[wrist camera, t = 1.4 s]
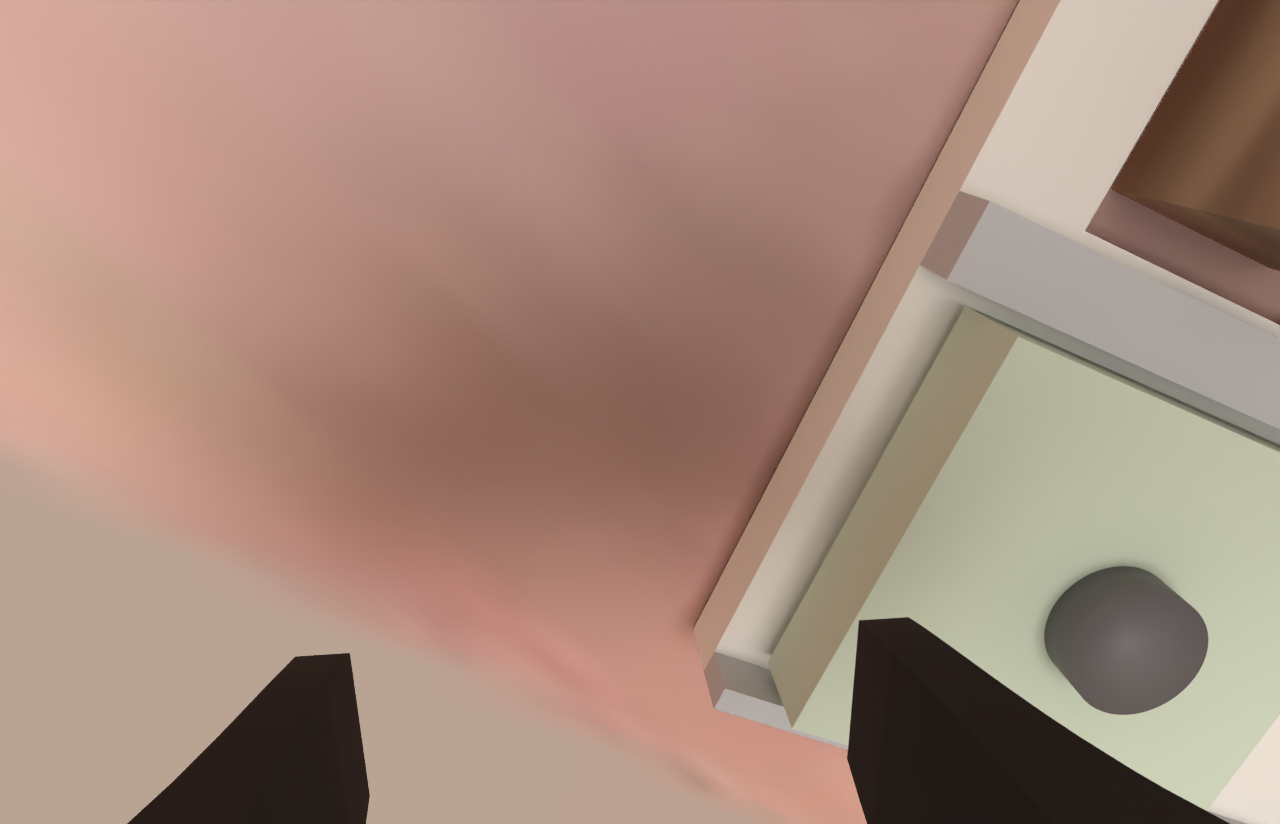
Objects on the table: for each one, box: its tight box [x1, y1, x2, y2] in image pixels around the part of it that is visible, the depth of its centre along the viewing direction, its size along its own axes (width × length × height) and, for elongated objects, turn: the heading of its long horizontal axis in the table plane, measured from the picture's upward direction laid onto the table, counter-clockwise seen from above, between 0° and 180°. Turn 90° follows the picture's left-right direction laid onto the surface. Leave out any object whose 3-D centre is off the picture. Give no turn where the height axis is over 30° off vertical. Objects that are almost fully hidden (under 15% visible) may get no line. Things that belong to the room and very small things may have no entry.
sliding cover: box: [768, 305, 1280, 811], centre depth 18 cm, size 9×8×3 cm
